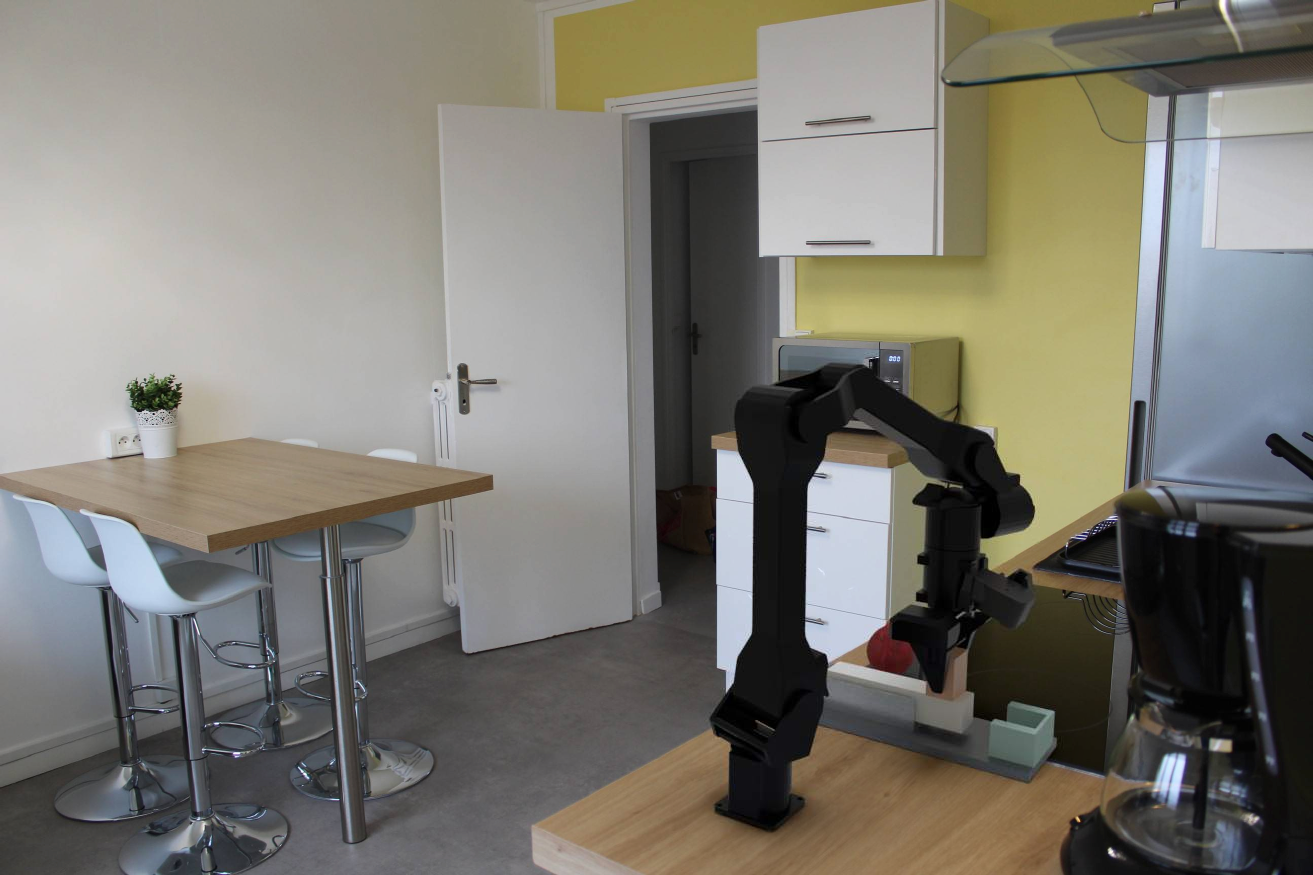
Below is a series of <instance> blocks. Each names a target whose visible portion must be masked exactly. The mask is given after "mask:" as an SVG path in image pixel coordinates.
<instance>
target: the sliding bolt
mask: <svg viewBox="0 0 1313 875" xmlns="http://www.w3.org/2000/svg"><path fill="white" fill-rule="evenodd" d="M968 654H969V652H968V649H963V648H959V647H954V648H953V649H952V651H951V657H950V662H949V667H948V672H947V677H946V682H945V686H944V690H943V693H942V694H937V693H934V692H932V691H931V689H930V686H929V684H928V682H927V680H925V681H924V680H920V679H918V678H914V677H913V678H912V677H909V676H904V675H896V674H892V673H888V672H883V671H879V670H875V669H873V668H872V667H871V668H870V667H866V666H861V665H858V664H857V665H856V664H853V663H849V662H846V661H845V662H844V661H841V660H840V661H837V662H835V663H836V664H834V665H833V666H831V667H830V668H828V671H827V677H828V678H832V679H836V680H840V681H844V682H848V683H852V684H856V685H860V686H864V687H868V688H872V689H876V690H880V691H884V692H888V693H892V694H896V695H900V696H905V697H909V698H913V699H916V716H915V721H916V722H919V723H923V724H927V725H931V726H935V727H939V728H943V729H946V730H950V731H954V732H958V733H963V732H964V731H965V730H966V729H967V728H968V727H969V726H970V725H971V724H972V723H973V717H974V701H975V700H974V699H975V693H974V692H972V691H968V690H967V676H968V672H967V671H968Z"/></svg>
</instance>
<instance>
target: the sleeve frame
mask: <svg viewBox="0 0 1313 875" xmlns="http://www.w3.org/2000/svg"><path fill="white" fill-rule="evenodd" d="M836 663H837V662H829V663H828V668H830V667H831V666H833V665H834V664H836ZM826 681H827V689H828V692H829V696H828V697H825V696H824V706H823V712H822V715H821V717H820V720H819V723H818V726H823V727H827V728H830V729H834V730H837V731H841V732H844V733H848V734H851V735H855V736H859V737H863V738H865V739H870V740H873V741H877V742H880V743H884V744H887V745H891V746H895V747H898V748H902V749H905V750H907V751H913V752H916V753H919V754H924V755H927V756H929V757H934V758H937V759H940V760H945V761H948V762H951V763H952V762H953V763H955V764H958V765H962V766H966V767H969V768H974V769H977V770H981V771H984V772H988V773H990V774H991V773H992V774H995V775H999V776H1003V777H1005V778H1010V779H1013V780H1017V781H1020V782H1024V783H1028V784H1029V783H1030V782H1031V780H1032V779H1033V778H1034V776H1035V775H1036V774H1037V773H1038V772H1039V770H1040V769H1041V767H1042V766H1043V765H1044V763H1045V762H1046V761H1047V759H1049V757H1051V754H1052V753H1053V752H1054V751H1055V749H1056V748H1057V740H1058V739H1057V737H1055V736H1053V743H1052V745H1051V746H1050V747H1049V749H1048V750H1047V751H1046V752H1045V754H1044V755H1043V756H1042V758H1041V759H1040V760H1039V761H1038V763H1037V764H1036V765H1035V767H1034V768H1032V767H1029V766H1025V765H1021V764H1018V763H1014V762H1010V761H1006V760H1003V759H999V758H995V757H992V756H989V739H990V723H991V722H992V721H989V720H986V719H982V718H979V717H974V716H973V723H972V724H971V725H970V726H969V727H968V728H967V729H966V730H965V731H964V732H963V733H958V732H954V731H950V730H946V729H943V728H939V727H935V726H931V725H927V724H923V723H919V722H916V721H915V716H916V699H913V698H909V697H905V696H900V695H896V694H892V693H888V692H884V691H880V690H876V689H872V688H868V687H864V686H860V685H856V684H852V683H848V682H844V681H840V680H836V679H832V678H828V677H827V680H826Z"/></svg>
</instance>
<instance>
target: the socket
mask: <svg viewBox="0 0 1313 875" xmlns="http://www.w3.org/2000/svg"><path fill="white" fill-rule="evenodd" d="M1006 710H1007V711H1006V721H1005V720H1001V719H998V718H997V719H996V718H994V719H992V721H991V723H990V739H989V756H992V757H995V758H999V759H1003V760H1006V761H1010V762H1014V763H1018V764H1021V765H1025V766H1029V767H1032V768H1034V767H1035V765H1036V764H1037V763H1038V761H1039V760H1040V759H1041V758H1042V756H1043V755H1044V754H1045V752H1046V751H1047V750H1048V749H1049V747H1050V746H1051V745H1052V743H1053V737H1054V732H1055V731H1054V730H1055V714H1056V712H1055V711H1054V710H1052V709H1045V708H1042V707H1038V706H1033V705H1029V704H1025V703H1021V702H1017V701H1010V702H1009V703H1008V705H1007V709H1006Z"/></svg>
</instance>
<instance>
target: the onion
mask: <svg viewBox="0 0 1313 875" xmlns="http://www.w3.org/2000/svg"><path fill="white" fill-rule="evenodd" d="M889 619H890V618H887V621H886V624H885V625H884V626H882V627H880V628H878V629H876V630H875V632H874V633H873V634H872V635H871V637H870V638H869V639H868V642H867V645H866V657H867V660H868V662H869V664H870V667H871V669H875V670H879V671H883V672H888V673H892V674H896V675H900V676H903V675H904V674H905V673H906V672H908V671H909V669H910V668H911V667H912V664H913V662H914V658H915V654H914V652H913V650H912V648H911V646H910V644H909V643H908V642H903V641H898V640H893V639H891V638H890V637H889Z"/></svg>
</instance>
